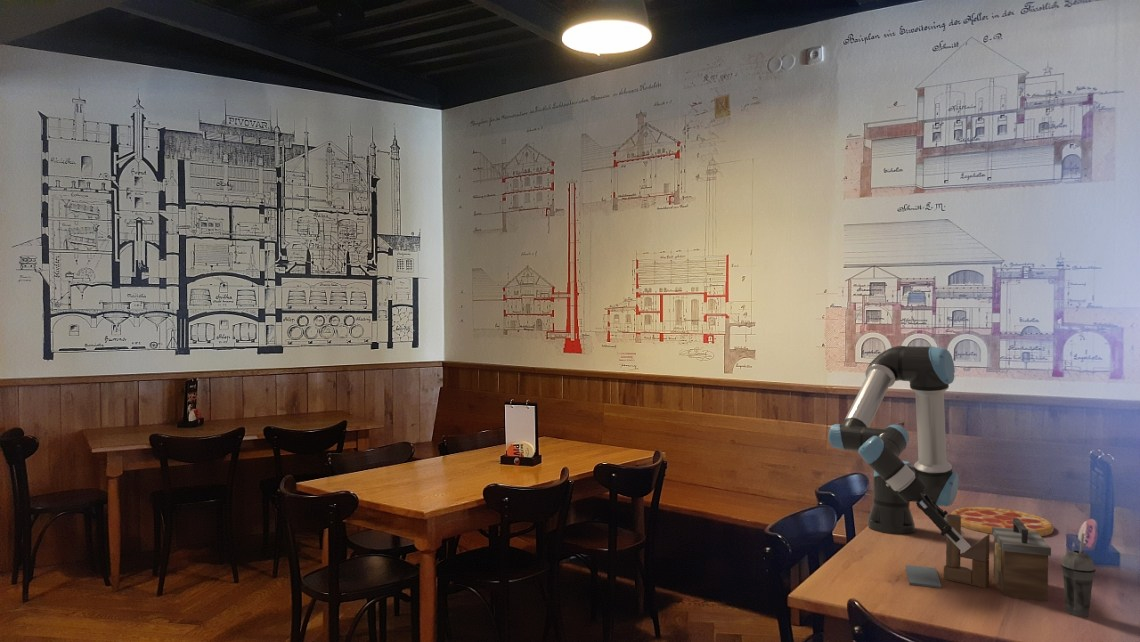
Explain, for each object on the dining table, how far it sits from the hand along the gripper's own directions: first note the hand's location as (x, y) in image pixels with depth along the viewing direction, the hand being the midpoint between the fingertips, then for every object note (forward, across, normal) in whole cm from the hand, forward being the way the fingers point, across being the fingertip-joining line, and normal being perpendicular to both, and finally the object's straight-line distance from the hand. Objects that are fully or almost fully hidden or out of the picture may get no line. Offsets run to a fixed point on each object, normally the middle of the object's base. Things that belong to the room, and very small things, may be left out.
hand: (964, 542), depth 213 cm
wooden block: (+9, -1, -7) cm, 11 cm away
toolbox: (+18, -1, +2) cm, 18 cm away
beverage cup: (+25, +14, +9) cm, 30 cm away
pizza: (+22, -72, +6) cm, 76 cm away
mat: (+1, -1, -15) cm, 15 cm away
